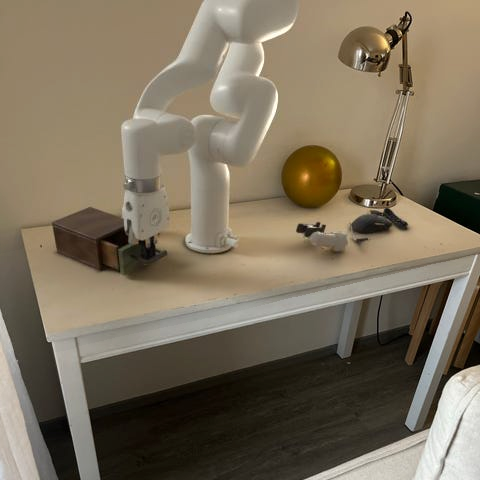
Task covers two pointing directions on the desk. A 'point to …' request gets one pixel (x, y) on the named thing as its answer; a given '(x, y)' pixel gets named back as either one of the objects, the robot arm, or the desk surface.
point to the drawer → (124, 253)
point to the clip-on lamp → (326, 236)
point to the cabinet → (85, 234)
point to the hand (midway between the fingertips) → (148, 260)
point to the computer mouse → (376, 221)
